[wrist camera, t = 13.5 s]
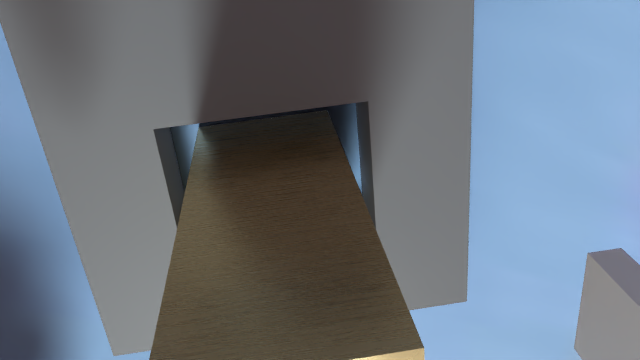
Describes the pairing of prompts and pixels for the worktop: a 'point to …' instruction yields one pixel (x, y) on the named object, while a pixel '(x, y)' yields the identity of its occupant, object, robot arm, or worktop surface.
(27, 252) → the worktop surface
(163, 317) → the brass peg
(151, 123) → the socket plate
